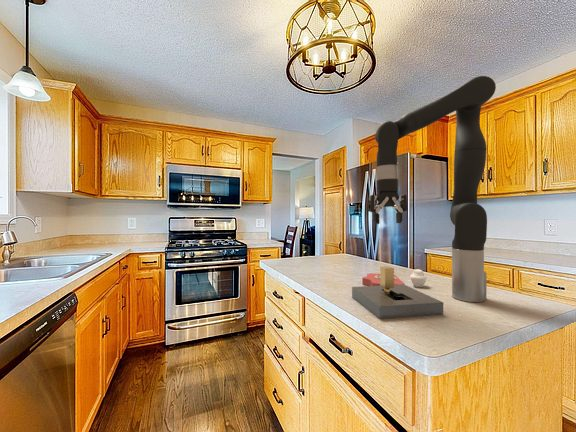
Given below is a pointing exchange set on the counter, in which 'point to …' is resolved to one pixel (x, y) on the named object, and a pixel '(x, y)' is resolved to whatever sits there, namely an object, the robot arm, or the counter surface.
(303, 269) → the counter surface
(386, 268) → the peg
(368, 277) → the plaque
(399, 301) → the keyhole plate
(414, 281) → the white lidded jar
